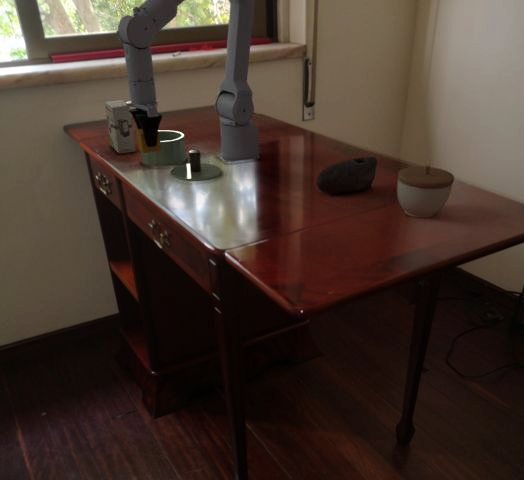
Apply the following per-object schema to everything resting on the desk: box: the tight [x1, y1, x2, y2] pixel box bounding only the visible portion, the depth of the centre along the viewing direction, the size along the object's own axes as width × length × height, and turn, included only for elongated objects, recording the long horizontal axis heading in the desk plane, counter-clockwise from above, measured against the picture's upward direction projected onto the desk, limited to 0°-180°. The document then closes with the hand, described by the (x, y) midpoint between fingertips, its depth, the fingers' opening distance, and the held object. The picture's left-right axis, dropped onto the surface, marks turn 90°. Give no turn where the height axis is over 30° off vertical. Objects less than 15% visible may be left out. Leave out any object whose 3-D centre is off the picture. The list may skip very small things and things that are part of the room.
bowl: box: [139, 129, 187, 167], centre depth 135 cm, size 11×11×6 cm
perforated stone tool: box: [316, 156, 378, 194], centre depth 117 cm, size 15×5×7 cm, turn 110°
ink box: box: [104, 99, 136, 154], centre depth 143 cm, size 9×5×12 cm, turn 27°
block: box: [135, 128, 161, 153], centre depth 124 cm, size 4×4×4 cm
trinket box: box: [396, 164, 455, 219], centre depth 106 cm, size 11×11×9 cm
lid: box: [169, 149, 222, 182], centre depth 127 cm, size 12×12×6 cm
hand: (149, 143), depth 125 cm, fingers closed on block, 4 cm apart
